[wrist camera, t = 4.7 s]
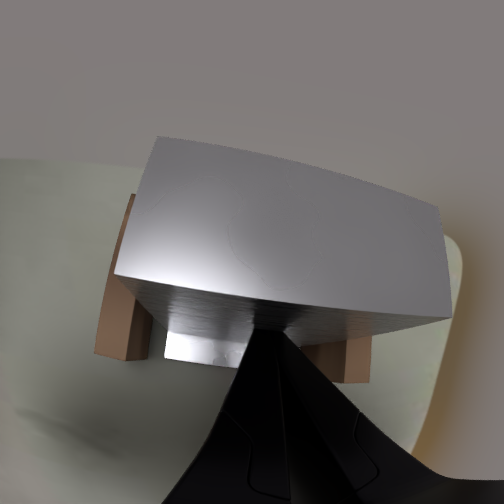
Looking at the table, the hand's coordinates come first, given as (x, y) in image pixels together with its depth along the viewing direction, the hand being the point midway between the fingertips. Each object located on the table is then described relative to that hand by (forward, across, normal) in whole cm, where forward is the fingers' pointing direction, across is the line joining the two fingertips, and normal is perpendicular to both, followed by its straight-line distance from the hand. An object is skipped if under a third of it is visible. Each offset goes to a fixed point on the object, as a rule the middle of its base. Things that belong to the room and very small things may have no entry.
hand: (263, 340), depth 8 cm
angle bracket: (+6, 0, +4) cm, 7 cm away
